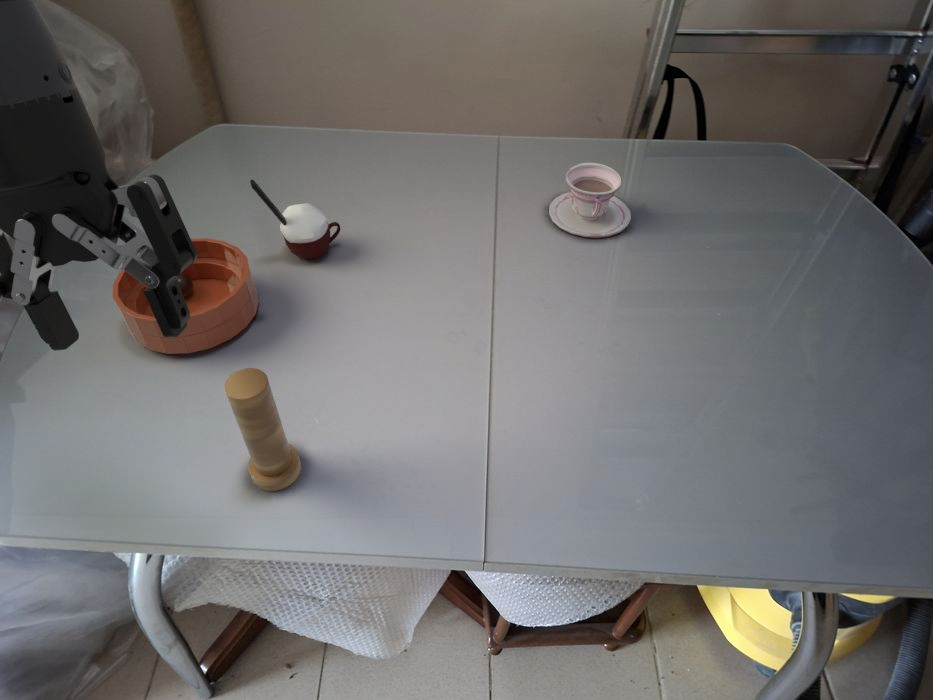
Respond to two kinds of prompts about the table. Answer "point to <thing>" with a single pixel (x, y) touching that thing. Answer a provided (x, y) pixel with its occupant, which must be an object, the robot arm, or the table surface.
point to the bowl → (196, 301)
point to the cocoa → (302, 227)
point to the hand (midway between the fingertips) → (122, 338)
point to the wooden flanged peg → (262, 430)
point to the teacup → (591, 202)
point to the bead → (185, 284)
